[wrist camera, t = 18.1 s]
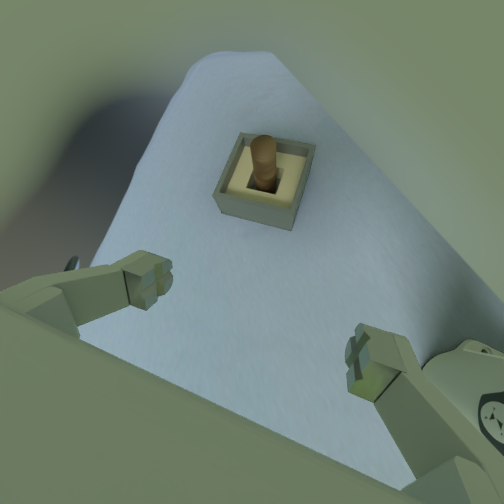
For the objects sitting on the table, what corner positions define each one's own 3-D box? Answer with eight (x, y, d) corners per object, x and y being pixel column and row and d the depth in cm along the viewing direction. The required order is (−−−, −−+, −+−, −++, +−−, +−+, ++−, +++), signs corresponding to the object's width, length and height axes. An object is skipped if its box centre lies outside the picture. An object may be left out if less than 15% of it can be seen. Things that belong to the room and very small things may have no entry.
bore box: (310, 169, 47) (315, 145, 40) (291, 231, 43) (294, 215, 36) (245, 156, 50) (240, 132, 44) (221, 213, 46) (212, 195, 39)
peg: (278, 182, 46) (279, 137, 34) (273, 199, 44) (271, 158, 33) (260, 178, 47) (254, 133, 35) (253, 194, 45) (246, 153, 34)
